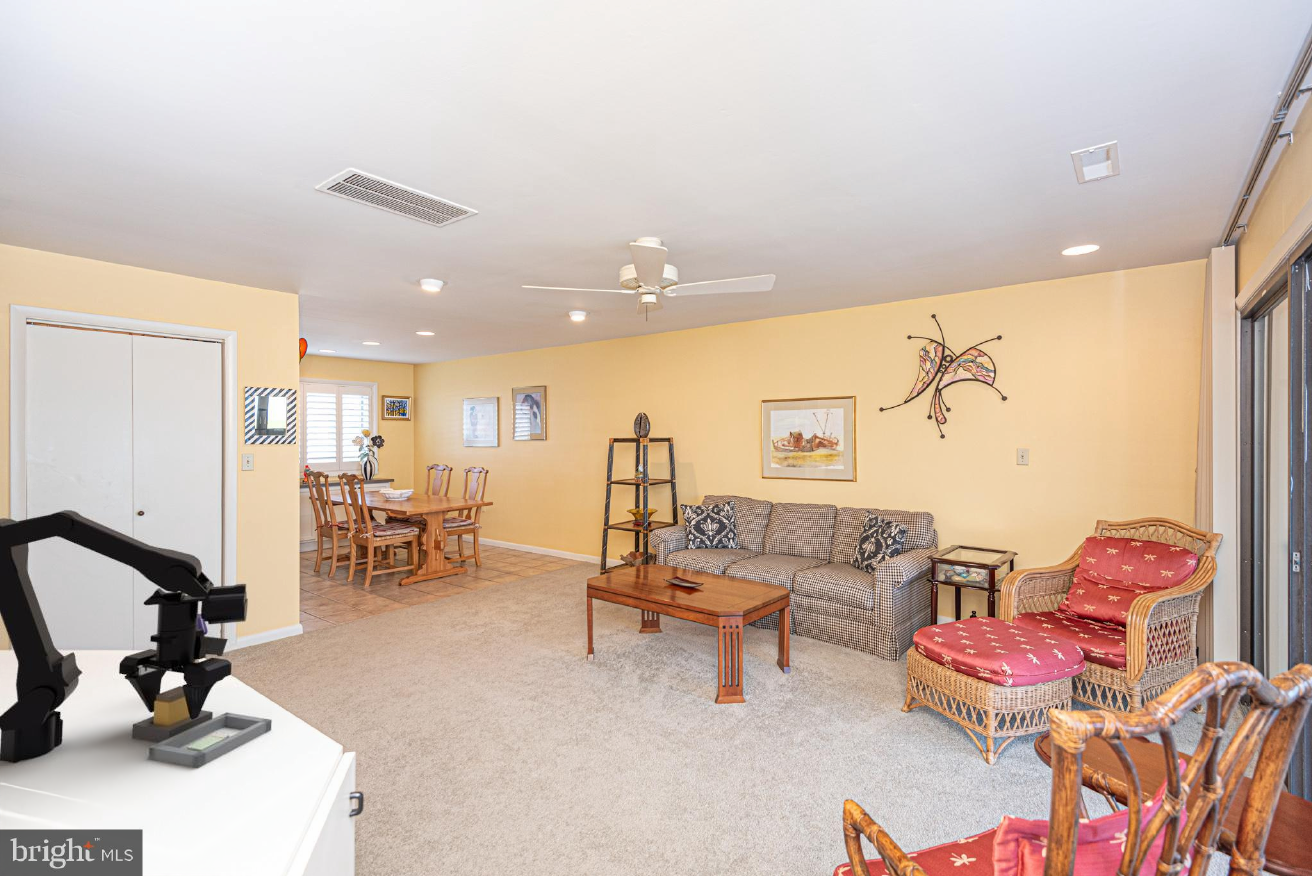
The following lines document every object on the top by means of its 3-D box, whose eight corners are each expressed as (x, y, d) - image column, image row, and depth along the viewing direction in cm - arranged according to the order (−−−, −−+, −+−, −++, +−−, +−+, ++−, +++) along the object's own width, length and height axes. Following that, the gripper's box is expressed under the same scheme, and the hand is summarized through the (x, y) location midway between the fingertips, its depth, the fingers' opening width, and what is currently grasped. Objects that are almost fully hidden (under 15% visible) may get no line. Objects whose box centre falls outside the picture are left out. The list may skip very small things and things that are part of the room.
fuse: (201, 762, 102) (201, 749, 102) (186, 759, 102) (186, 746, 102) (229, 747, 107) (229, 735, 107) (214, 745, 107) (215, 732, 107)
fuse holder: (168, 748, 107) (169, 730, 107) (132, 741, 108) (132, 724, 108) (211, 728, 114) (212, 711, 114) (177, 722, 116) (177, 706, 116)
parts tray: (197, 772, 99) (198, 756, 100) (148, 762, 102) (149, 747, 102) (271, 733, 113) (271, 719, 113) (225, 726, 115) (226, 712, 115)
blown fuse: (167, 738, 109) (169, 697, 109) (153, 735, 109) (154, 695, 110) (192, 726, 113) (194, 687, 113) (178, 724, 114) (180, 685, 114)
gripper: (259, 620, 117) (255, 704, 117) (179, 610, 122) (176, 691, 121) (203, 637, 106) (199, 729, 106) (118, 626, 111) (114, 715, 111)
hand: (173, 715), depth 111 cm, fingers open, 9 cm apart
